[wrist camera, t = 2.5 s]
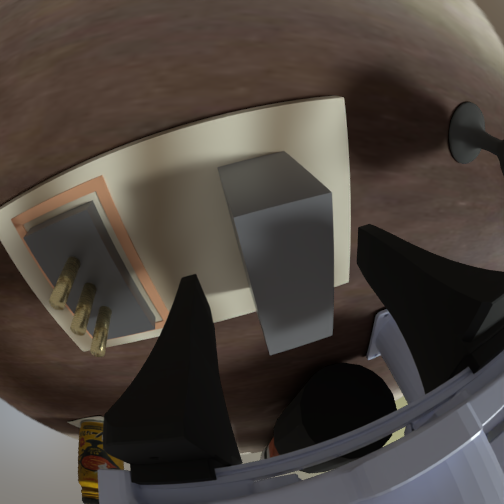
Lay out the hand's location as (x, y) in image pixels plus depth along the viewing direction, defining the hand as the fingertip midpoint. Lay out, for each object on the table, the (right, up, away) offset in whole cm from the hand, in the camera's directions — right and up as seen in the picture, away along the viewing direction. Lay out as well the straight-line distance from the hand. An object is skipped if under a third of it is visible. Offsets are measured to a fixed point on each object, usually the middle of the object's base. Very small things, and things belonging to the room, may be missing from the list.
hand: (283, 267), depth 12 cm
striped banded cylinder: (+4, -24, +24) cm, 34 cm away
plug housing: (-1, +2, +3) cm, 4 cm away
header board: (-6, +1, +3) cm, 7 cm away
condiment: (-21, -23, +17) cm, 35 cm away
